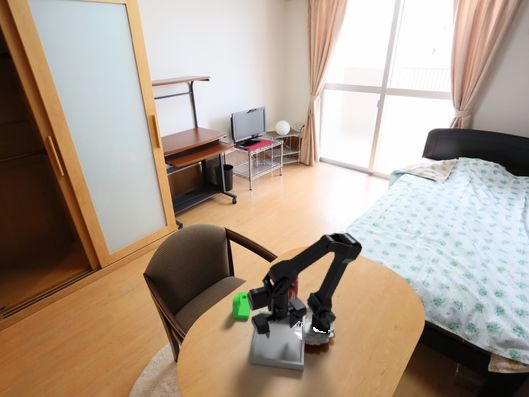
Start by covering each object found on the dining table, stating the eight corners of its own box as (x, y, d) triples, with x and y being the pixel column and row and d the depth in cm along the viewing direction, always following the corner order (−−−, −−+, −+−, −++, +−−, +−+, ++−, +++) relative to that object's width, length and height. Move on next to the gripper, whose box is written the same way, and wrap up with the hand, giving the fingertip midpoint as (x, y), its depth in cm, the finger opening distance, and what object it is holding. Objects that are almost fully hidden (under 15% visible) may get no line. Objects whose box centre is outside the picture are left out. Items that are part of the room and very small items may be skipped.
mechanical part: (248, 319, 113) (247, 304, 110) (233, 318, 114) (232, 303, 110) (252, 296, 124) (251, 281, 120) (238, 295, 124) (237, 281, 121)
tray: (304, 321, 112) (305, 316, 110) (303, 371, 94) (303, 365, 93) (259, 316, 114) (259, 311, 113) (249, 363, 97) (249, 357, 95)
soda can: (278, 302, 120) (278, 278, 114) (283, 290, 126) (284, 267, 120) (294, 307, 118) (295, 282, 112) (299, 295, 124) (300, 271, 118)
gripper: (291, 275, 105) (290, 307, 112) (243, 292, 98) (245, 325, 105) (309, 295, 96) (306, 328, 103) (257, 316, 89) (259, 350, 96)
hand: (279, 332), depth 102 cm, fingers open, 9 cm apart
